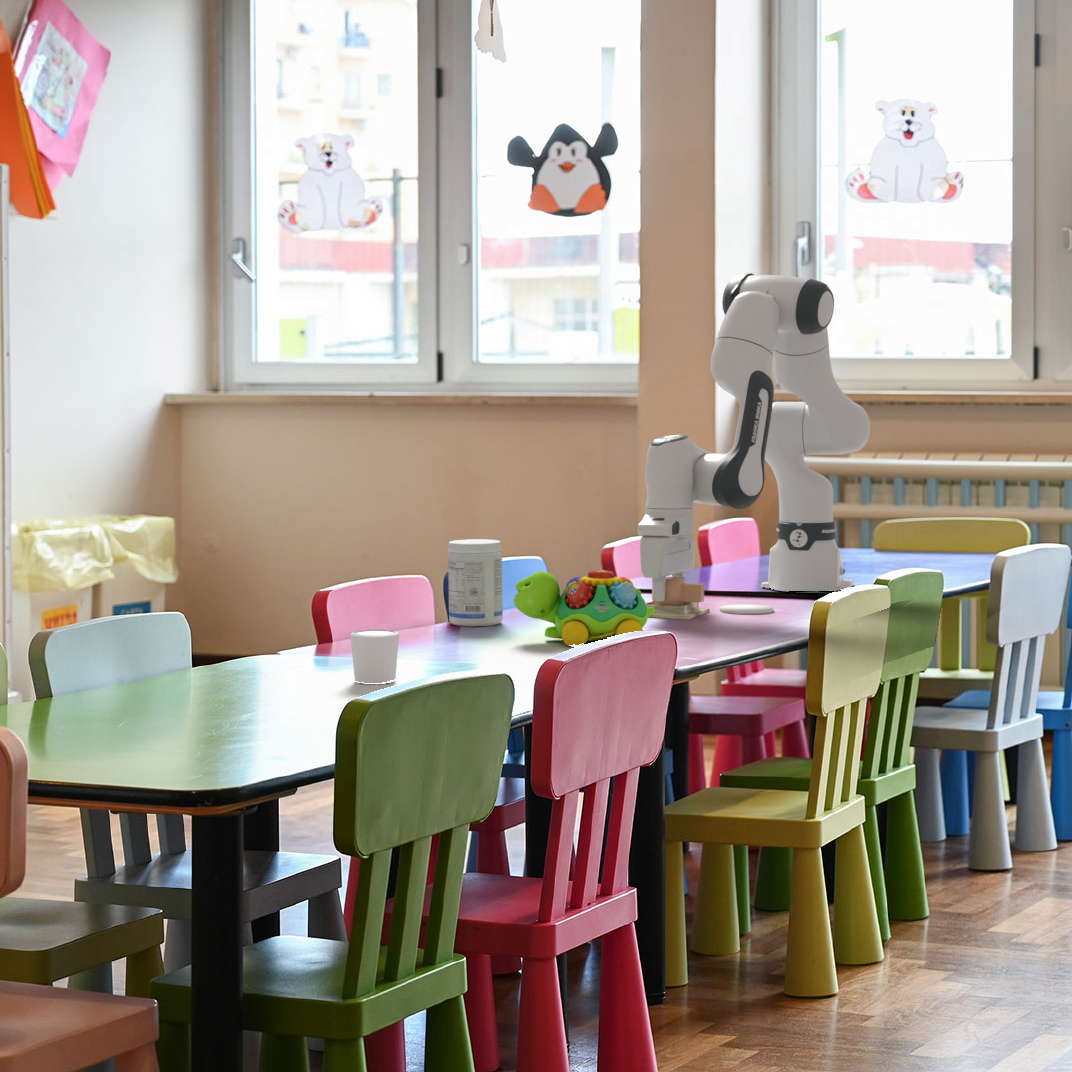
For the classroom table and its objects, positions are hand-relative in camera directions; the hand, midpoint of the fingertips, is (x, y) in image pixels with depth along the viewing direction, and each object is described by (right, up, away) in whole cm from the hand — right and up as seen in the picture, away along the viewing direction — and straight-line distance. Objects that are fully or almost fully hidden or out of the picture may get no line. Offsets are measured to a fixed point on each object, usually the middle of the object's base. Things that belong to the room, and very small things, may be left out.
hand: (668, 598), depth 317 cm
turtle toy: (-17, -6, -34) cm, 39 cm away
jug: (+2, -2, 0) cm, 3 cm away
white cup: (-47, -9, -75) cm, 89 cm away
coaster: (+15, -3, +5) cm, 16 cm away
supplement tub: (-35, -4, -13) cm, 38 cm away
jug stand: (0, -3, 0) cm, 3 cm away
